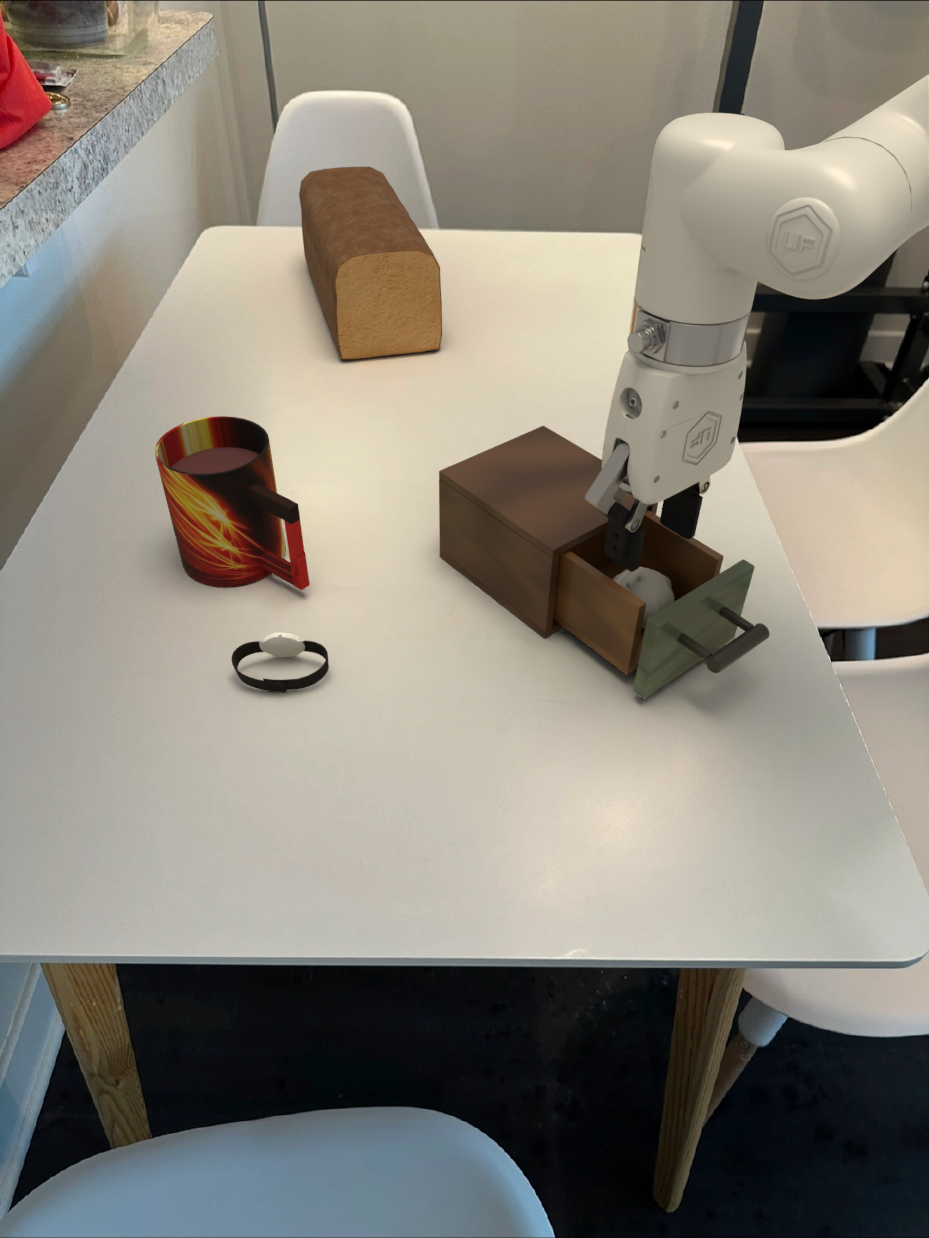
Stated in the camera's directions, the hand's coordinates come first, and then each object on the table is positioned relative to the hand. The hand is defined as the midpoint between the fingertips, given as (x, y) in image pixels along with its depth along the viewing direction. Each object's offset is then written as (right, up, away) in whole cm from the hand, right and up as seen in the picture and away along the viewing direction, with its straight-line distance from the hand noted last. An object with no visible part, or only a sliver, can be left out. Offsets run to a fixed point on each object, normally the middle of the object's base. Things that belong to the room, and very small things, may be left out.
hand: (649, 544), depth 72 cm
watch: (-29, -11, +3) cm, 32 cm away
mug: (-34, 0, +14) cm, 37 cm away
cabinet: (-8, -1, +13) cm, 15 cm away
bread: (-28, +38, +57) cm, 74 cm away
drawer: (+1, -8, +5) cm, 9 cm away
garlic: (0, -6, +5) cm, 8 cm away
